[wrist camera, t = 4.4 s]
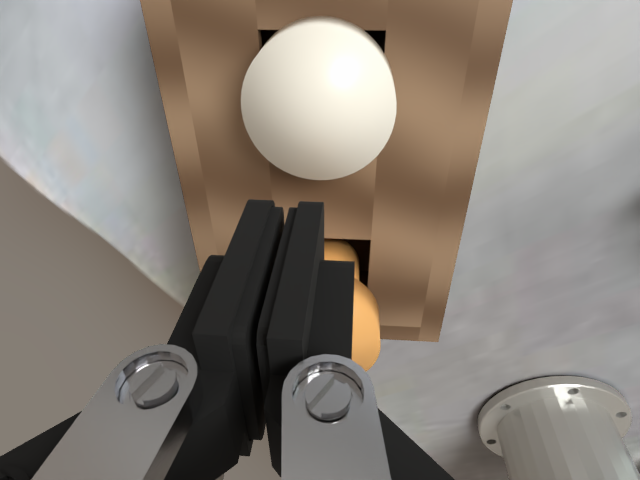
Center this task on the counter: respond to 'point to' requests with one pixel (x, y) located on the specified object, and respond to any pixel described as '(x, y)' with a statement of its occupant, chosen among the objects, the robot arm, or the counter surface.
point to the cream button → (319, 98)
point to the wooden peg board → (367, 183)
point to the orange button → (358, 307)
